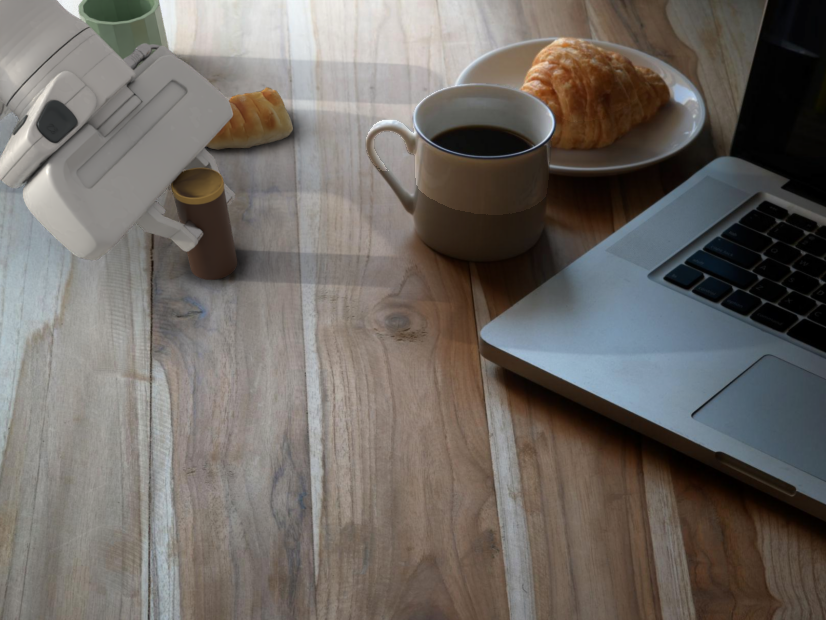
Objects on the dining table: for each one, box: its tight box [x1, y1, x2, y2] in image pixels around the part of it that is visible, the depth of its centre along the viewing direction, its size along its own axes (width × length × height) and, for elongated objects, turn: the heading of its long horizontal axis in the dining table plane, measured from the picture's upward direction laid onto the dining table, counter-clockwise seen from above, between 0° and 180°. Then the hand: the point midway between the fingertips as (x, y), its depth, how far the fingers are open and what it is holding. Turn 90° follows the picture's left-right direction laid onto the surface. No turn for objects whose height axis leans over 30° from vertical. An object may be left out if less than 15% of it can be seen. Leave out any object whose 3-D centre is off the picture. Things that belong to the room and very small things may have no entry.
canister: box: [77, 0, 170, 68], centre depth 99 cm, size 8×8×8 cm
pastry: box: [205, 86, 294, 150], centre depth 93 cm, size 9×7×4 cm
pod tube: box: [170, 168, 238, 281], centre depth 78 cm, size 4×4×9 cm
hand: (212, 224), depth 77 cm, fingers closed on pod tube, 4 cm apart
